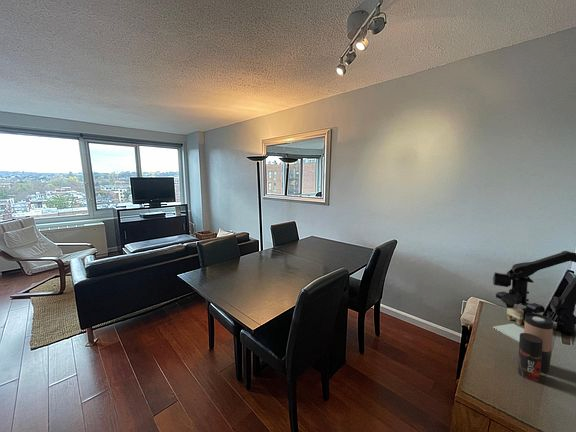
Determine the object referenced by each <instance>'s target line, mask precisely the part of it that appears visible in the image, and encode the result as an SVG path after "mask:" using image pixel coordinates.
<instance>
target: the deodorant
mask: <svg viewBox="0 0 576 432" xmlns="http://www.w3.org/2000/svg"><path fill="white" fill-rule="evenodd" d="M542 345H543V340H542V339H541V338H539V337H537V336H535V335H532V334H529V333H520V339H519V342H518V356H517V373H518V375H519V376H521V377H523V378H524V379H526V380H528V381H532V382H540V380H541V373H542V372H541V359H542Z"/></svg>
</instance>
